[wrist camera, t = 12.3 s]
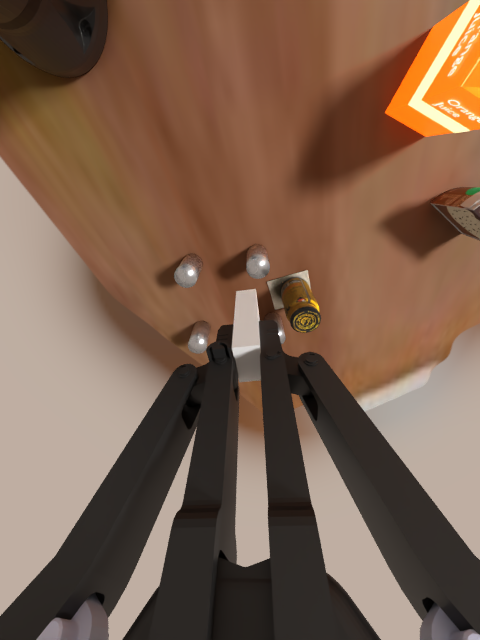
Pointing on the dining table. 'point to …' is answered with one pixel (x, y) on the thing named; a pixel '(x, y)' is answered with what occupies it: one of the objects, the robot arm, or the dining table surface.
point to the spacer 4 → (278, 320)
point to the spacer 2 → (199, 337)
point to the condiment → (296, 301)
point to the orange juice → (444, 78)
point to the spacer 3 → (257, 261)
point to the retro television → (461, 209)
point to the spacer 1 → (188, 270)
